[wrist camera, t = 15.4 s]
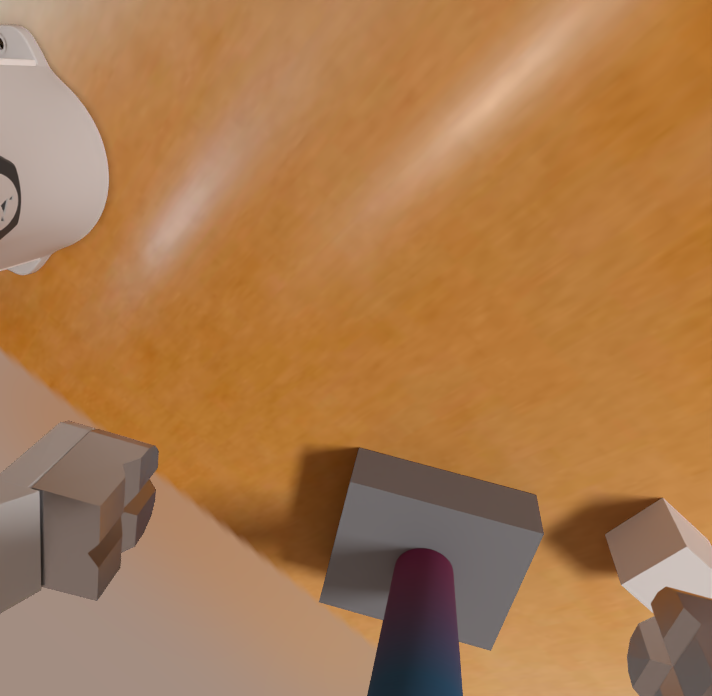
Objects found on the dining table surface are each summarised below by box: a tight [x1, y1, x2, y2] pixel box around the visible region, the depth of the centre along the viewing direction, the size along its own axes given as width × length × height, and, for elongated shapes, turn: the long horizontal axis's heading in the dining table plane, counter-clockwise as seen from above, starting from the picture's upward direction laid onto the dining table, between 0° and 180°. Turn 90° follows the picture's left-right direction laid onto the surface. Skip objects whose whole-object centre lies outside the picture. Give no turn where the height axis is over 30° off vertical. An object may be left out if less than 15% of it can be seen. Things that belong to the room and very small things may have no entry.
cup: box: [367, 548, 463, 696], centre depth 45 cm, size 7×7×15 cm
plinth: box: [319, 448, 544, 651], centre depth 54 cm, size 16×14×5 cm
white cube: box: [605, 498, 712, 612], centre depth 50 cm, size 6×6×6 cm
